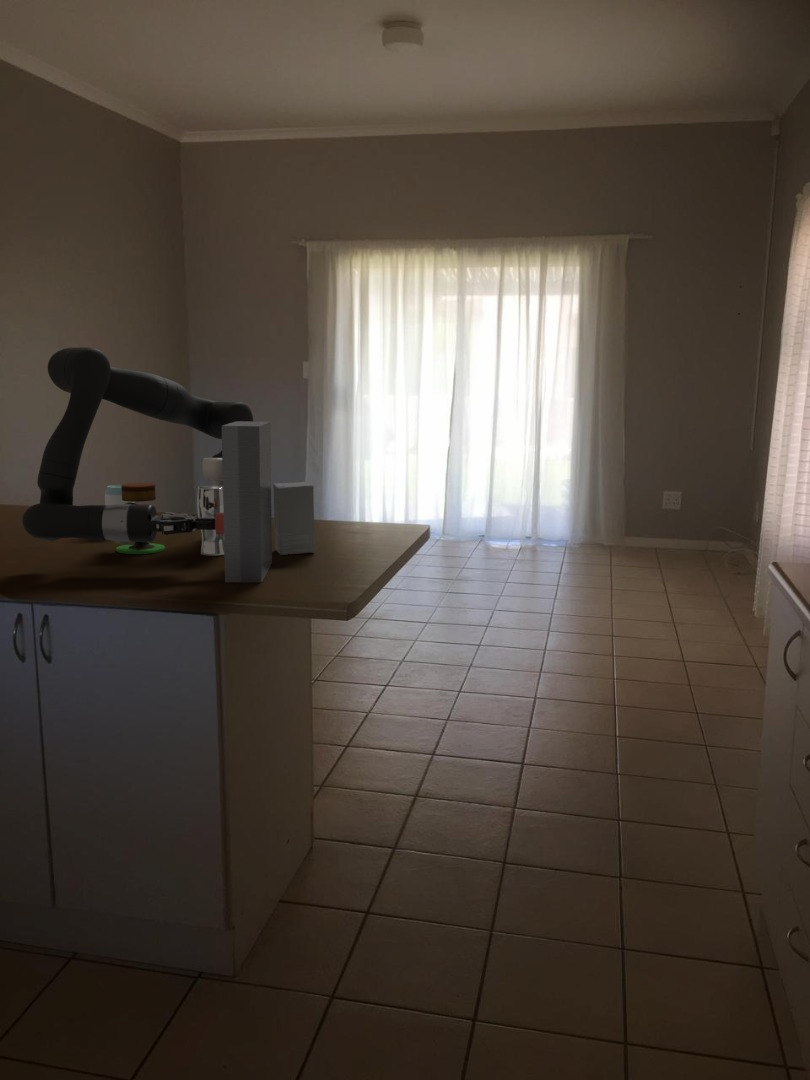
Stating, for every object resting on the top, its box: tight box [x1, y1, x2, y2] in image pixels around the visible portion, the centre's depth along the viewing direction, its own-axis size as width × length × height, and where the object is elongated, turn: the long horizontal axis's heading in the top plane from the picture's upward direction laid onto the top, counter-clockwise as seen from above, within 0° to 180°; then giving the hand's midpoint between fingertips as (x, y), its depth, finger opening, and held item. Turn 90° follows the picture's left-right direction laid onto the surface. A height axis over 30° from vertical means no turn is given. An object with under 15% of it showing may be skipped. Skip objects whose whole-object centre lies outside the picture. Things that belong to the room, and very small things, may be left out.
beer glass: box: [196, 484, 224, 557], centre depth 198 cm, size 7×7×15 cm
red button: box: [215, 513, 224, 535], centre depth 178 cm, size 5×4×4 cm
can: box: [104, 484, 136, 505], centre depth 221 cm, size 7×7×12 cm
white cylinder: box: [201, 457, 223, 481], centre depth 176 cm, size 5×4×4 cm
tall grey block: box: [221, 421, 273, 584], centre depth 177 cm, size 7×18×30 cm, turn 2°
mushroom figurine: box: [112, 482, 166, 555], centre depth 200 cm, size 12×13×15 cm
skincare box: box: [272, 481, 316, 556], centre depth 200 cm, size 8×7×16 cm
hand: (216, 523), depth 178 cm, fingers closed
